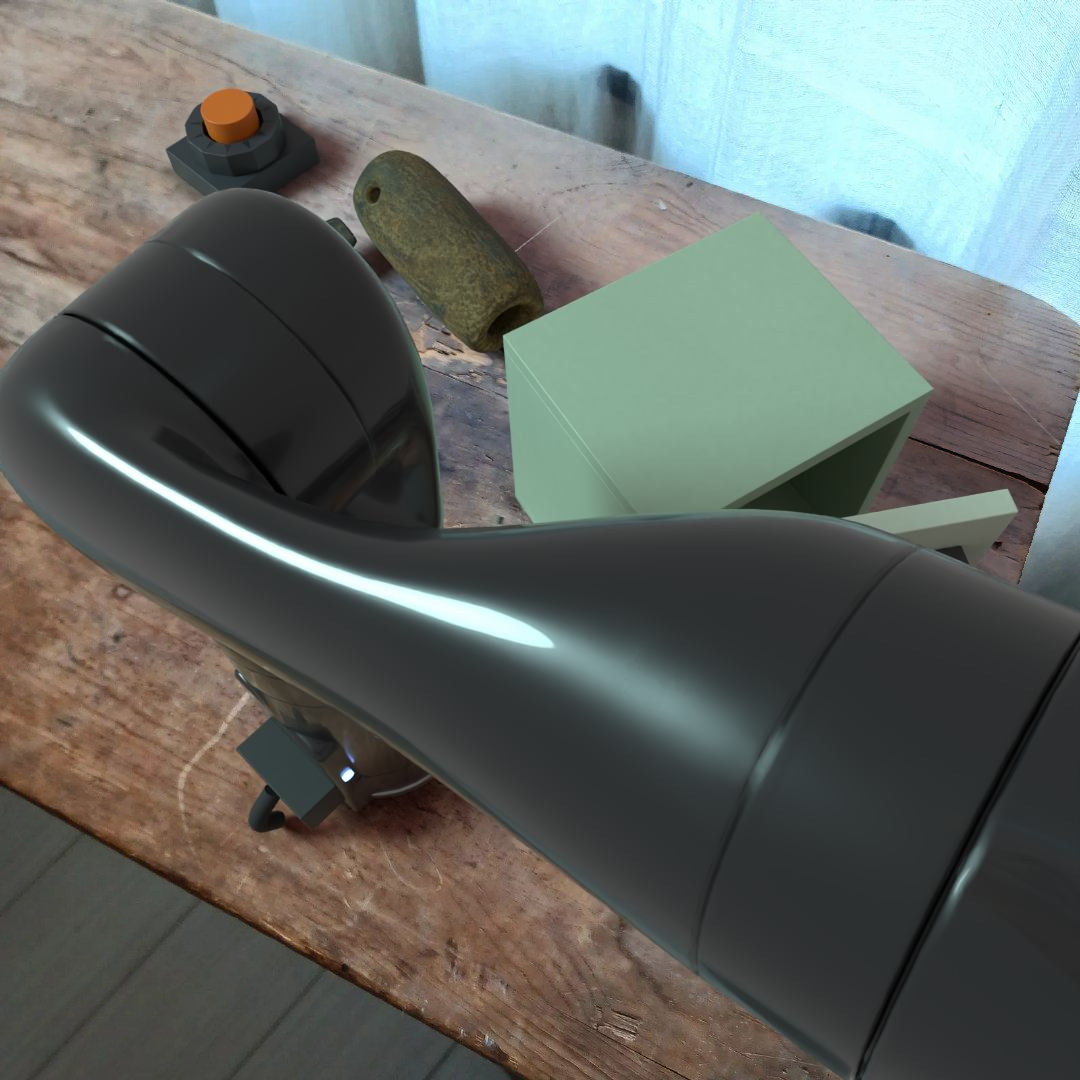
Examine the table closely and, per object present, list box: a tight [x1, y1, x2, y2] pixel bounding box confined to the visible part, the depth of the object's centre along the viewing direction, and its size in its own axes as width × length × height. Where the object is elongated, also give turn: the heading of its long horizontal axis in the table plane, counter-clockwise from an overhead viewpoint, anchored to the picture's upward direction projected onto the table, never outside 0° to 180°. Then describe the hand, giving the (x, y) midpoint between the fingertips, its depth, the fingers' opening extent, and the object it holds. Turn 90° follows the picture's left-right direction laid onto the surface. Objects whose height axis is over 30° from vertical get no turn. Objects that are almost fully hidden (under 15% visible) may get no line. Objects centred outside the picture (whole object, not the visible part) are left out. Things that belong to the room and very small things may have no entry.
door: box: [842, 488, 1019, 567], centre depth 48 cm, size 6×15×15 cm, turn 101°
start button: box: [201, 88, 260, 144], centre depth 71 cm, size 4×4×2 cm
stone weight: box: [352, 149, 545, 354], centre depth 66 cm, size 15×7×7 cm, turn 40°
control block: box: [165, 90, 321, 197], centre depth 73 cm, size 8×7×4 cm
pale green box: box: [503, 210, 935, 523], centre depth 54 cm, size 13×15×15 cm
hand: (930, 628), depth 48 cm, fingers closed on door
